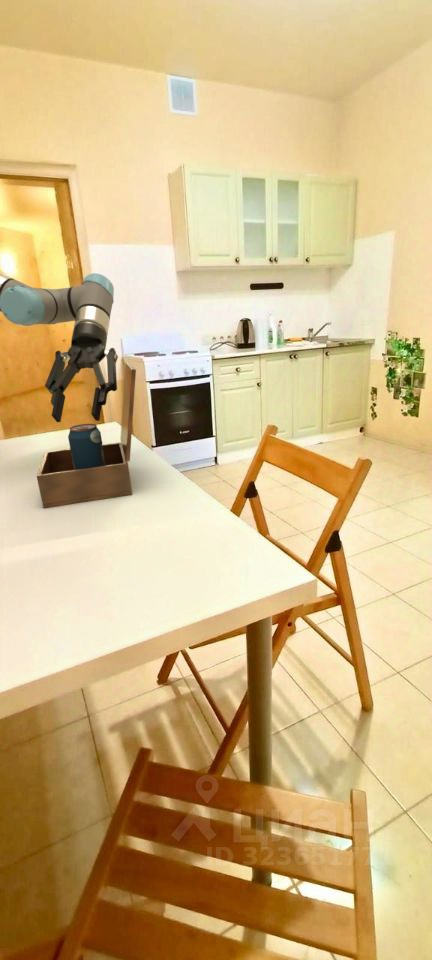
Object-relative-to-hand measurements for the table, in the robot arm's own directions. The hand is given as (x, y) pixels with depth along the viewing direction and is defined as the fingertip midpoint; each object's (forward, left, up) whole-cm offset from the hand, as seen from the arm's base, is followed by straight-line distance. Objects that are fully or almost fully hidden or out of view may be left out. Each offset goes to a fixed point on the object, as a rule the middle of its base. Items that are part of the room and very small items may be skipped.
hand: (75, 417), depth 93 cm
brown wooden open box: (0, 0, -16) cm, 16 cm away
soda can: (-3, +1, -15) cm, 15 cm away
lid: (0, +10, +1) cm, 10 cm away
